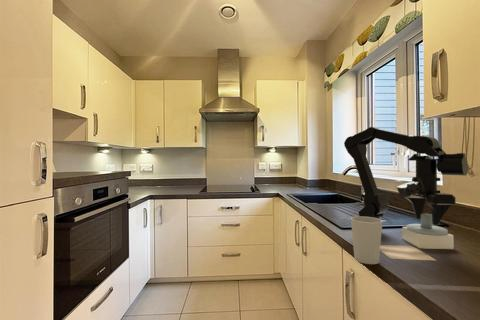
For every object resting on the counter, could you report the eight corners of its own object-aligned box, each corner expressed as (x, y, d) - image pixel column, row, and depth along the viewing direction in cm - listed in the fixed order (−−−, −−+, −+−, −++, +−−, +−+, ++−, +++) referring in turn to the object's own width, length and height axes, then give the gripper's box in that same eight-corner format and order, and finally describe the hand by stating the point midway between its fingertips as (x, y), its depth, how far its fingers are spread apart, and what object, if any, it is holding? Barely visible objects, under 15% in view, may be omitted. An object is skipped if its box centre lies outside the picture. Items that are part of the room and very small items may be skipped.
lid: (400, 226, 92) (400, 210, 92) (433, 226, 90) (433, 211, 90) (418, 235, 81) (418, 217, 81) (456, 236, 79) (456, 218, 79)
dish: (402, 240, 91) (402, 226, 91) (432, 241, 90) (432, 227, 90) (419, 250, 81) (419, 234, 81) (453, 251, 80) (453, 235, 80)
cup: (374, 257, 76) (374, 216, 76) (388, 268, 68) (388, 223, 68) (347, 256, 76) (346, 216, 76) (357, 268, 68) (357, 222, 68)
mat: (373, 247, 84) (373, 244, 84) (412, 248, 83) (412, 245, 83) (391, 261, 72) (391, 258, 72) (436, 263, 71) (436, 260, 71)
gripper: (387, 172, 96) (387, 214, 96) (416, 176, 77) (417, 228, 77) (419, 172, 94) (419, 215, 94) (456, 176, 76) (457, 229, 76)
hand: (426, 221), depth 85 cm, fingers open, 9 cm apart
